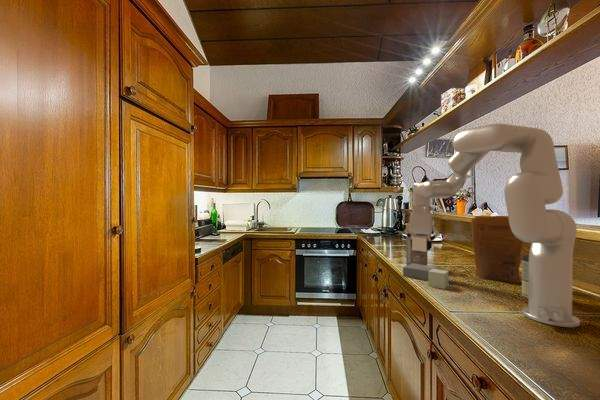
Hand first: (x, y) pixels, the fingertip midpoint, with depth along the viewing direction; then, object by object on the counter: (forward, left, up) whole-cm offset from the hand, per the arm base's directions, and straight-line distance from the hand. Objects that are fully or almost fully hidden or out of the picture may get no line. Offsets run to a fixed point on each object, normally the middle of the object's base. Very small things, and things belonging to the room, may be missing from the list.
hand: (420, 248), depth 128 cm
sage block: (-11, -10, -12) cm, 19 cm away
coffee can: (-2, -41, -13) cm, 43 cm away
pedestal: (0, 0, -12) cm, 12 cm away
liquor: (+16, +7, -13) cm, 21 cm away
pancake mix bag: (+16, -27, -13) cm, 34 cm away
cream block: (0, 0, -1) cm, 1 cm away
